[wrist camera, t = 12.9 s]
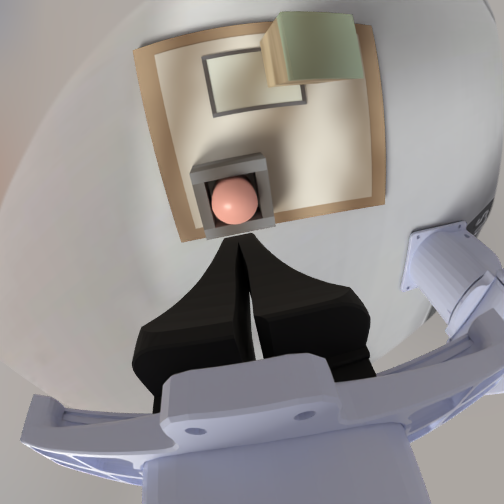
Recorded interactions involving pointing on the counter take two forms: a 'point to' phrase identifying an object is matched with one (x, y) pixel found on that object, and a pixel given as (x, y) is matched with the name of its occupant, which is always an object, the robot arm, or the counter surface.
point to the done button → (234, 199)
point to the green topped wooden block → (311, 49)
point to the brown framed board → (259, 131)
